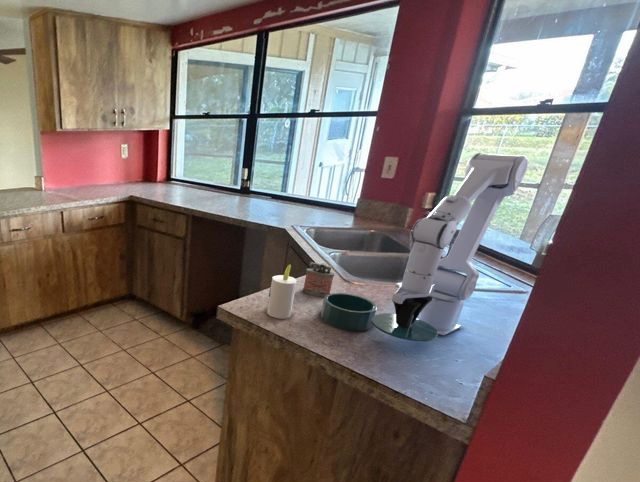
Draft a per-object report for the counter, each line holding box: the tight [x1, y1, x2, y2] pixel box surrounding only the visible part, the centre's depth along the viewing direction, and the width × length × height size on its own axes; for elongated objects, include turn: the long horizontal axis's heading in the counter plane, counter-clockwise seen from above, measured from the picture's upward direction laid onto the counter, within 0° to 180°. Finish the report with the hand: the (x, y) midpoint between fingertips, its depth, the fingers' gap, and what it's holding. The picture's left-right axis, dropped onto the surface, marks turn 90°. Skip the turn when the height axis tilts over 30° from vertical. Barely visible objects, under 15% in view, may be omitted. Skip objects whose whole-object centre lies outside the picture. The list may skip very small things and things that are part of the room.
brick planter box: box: [302, 261, 336, 298], centre depth 126 cm, size 8×3×10 cm, turn 58°
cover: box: [372, 312, 439, 343], centre depth 97 cm, size 14×14×5 cm
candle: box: [266, 263, 298, 320], centre depth 111 cm, size 6×6×15 cm
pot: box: [320, 292, 378, 332], centre depth 110 cm, size 13×13×5 cm
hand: (404, 323), depth 98 cm, fingers closed on cover, 2 cm apart
